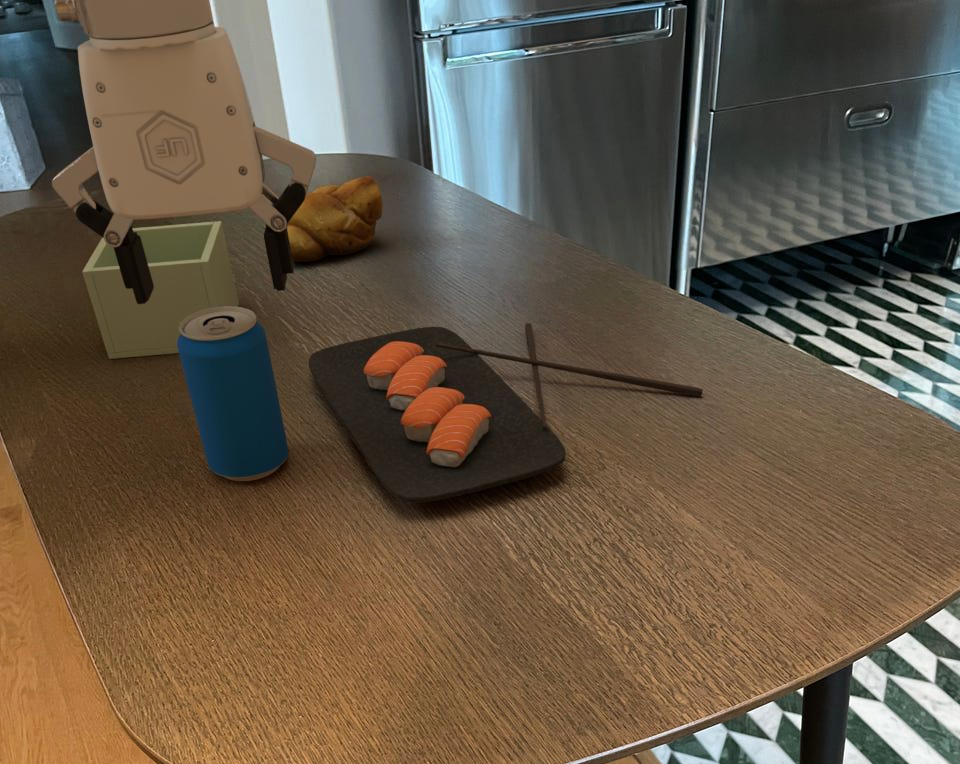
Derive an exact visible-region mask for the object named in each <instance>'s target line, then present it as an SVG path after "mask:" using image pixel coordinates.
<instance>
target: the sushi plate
mask: <svg viewBox="0 0 960 764" xmlns="http://www.w3.org/2000/svg"><path fill="white" fill-rule="evenodd" d="M524 327H525V330H524V331H525V336H526V341H527V346H528V352H529V356H530V358H528V357H527V358H526V357H522V356H521V357H519V356H516V355H510V354H505V353H499V352H493V351H487V350H481V349H476V348H472V346H470V345H469V344H468V343H467V342H466V341H465V340H464V339H463V338H462V337H461V336H460V335H458V333H456V332H454V331H453V330H451V329H449V328H446V327H442V326H424V327H417V328H411V329H405V330H401V331H396V332H395V331H394V332H390V333H386V334H382V335H377V336H372V337H367V338H363V339H358V340H354V341H349V342H345V343H340V344H336V345H333V346H332V345H331V346H329V347H325V348H322V349H320V350H317V351H316V352H314V353H312V354H311V355H310V356H309V358H308V368H309V371H310V373H311V375H312V377H313V379H314V380H315V382H316V384H317V385H318V387H319V388H320V390H321V391H322V393H323V395H324V396H325V398H326V399H327V401H328V402H329V404H330V406H331V408H332V409H333V410H334V412H335V414H336V415H337V417H338V418H339V420H340V421H341V423H342V425H343V427H345V429H346V431H347V433H348V434H349V436H350V438H351V439H352V440H353V442H354V443H355V445H356V446H357V448H358V450H359V451H360V453H361V455H362V456H363V458H364V459H365V461H366V462H367V464H368V465H369V467H370V469H371V470H372V472H373V473H374V475H375V476H376V478H377V479H378V480H379V482H380V483H381V485H382V486H383V487H384V488H385V489H386V490H387V491H388V493H389V494H390V495H392V497H394V498H396V499H398V500H400V501H402V502H405V503H412V504H417V503H419V504H421V503H430V502H436V501H442V500H446V499H451V498H455V497H460V496H463V495H468V494H472V493H476V492H481V491H483V490H484V491H485V490H487V489H491V488H495V487H499V486H502V485H507V484H511V483H514V482H518V481H521V480H525V479H528V478H531V477H535V476H538V475H541V474H544V473H547V472H549V471H552V470H554V469H556V468H557V467H559V466H560V465H562V464H563V463H564V462H565V461H566V457H567V453H566V449H565V446H564V444H563V442H562V441H561V440H560V439H559V437H558V436H557V435H556V434H555V432H554V431H553V430H552V429H551V428H550V427H549V426H548V425H547V419H546V413H545V407H544V400H543V394H542V388H541V387H542V386H541V380H540V374H539V368H538V367H543V368H549V369H554V370H559V371H563V372H569V373H574V374H579V375H584V376H588V377H594V378H599V379H603V380H609V381H613V382H618V383H623V384H628V385H634V386H639V387H643V388H650V389H653V390H659V391H664V392H670V393H675V394H680V395H684V396H685V395H686V396H690V395H692V396H691V397H696V396H701V395H703V393H704V392H703V391H704V389H703V388H701V387H696V386H690V385H687V384H686V385H685V384H680V383H674V382H668V381H662V380H656V379H650V378H645V377H640V376H634V375H628V374H622V373H616V372H609V371H604V370H603V371H602V370H597V369H592V368H591V369H590V368H585V367H584V368H583V367H579V366H574V365H568V364H562V363H555V362H549V361H543V360H538V359H537V353H536V346H535V339H534V333H533V327H532V323H529V322H528V323H525V324H524ZM481 356H485V357H490V358H496V359H501V360H506V361H511V362H517V363H523V364H528V365H531V369H532V373H533V379H534V385H535V391H536V397H537V403H538V409H539V415H540V417H539V415H537V413H536V412H534V410H532V408H531V407H530V406H529V405H528V404H527V403H526V402H525V401H524V400H523V399H522V398H521V397H520V396H519V395H518V394H517V393H516V392H515V390H513V389H512V388H511V386H510V385H508V383H506V381H504V380H503V379H502V377H500V375H498V373H497V372H496V371H495V370H494V369H493V368H492V367H491V366H490V365H489V364H488V363H487V362H486V361H485V360H484V359H483V358H482V357H481ZM701 397H702V396H701Z"/></svg>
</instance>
